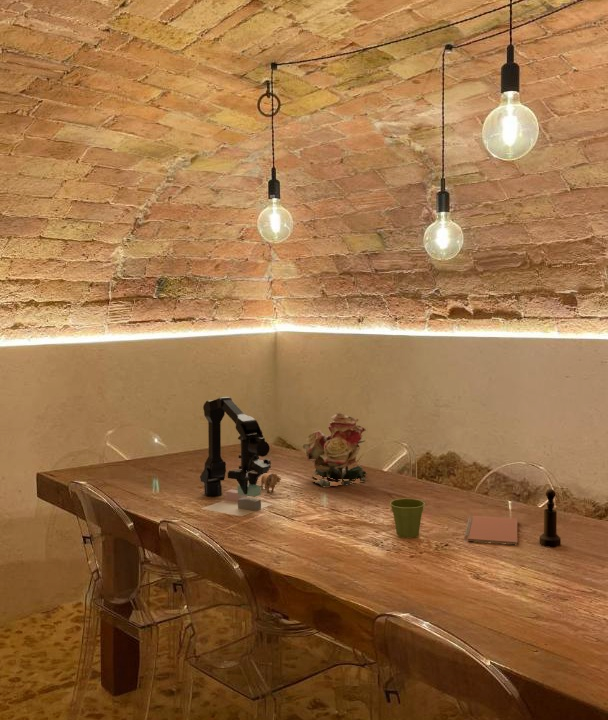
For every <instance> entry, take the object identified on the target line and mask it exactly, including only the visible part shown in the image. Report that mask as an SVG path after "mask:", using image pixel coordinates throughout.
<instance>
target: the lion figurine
mask: <svg viewBox="0 0 608 720" xmlns="http://www.w3.org/2000/svg"><path fill="white" fill-rule="evenodd" d="M281 480H282V478H281V477H279V476H278V474H277V473H276V472H273V473H271V474H269V475H267V474H264V475H263V474H262V475H261V479H260V481H261V482H260V483H261V485H260V486H261V491H263V490H266V494H270V489H271V493H274V491H275V487H276V486H277V485H278V484H279V483H280V482H281Z"/></svg>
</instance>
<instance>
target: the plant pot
mask: <svg viewBox="0 0 608 720" xmlns="http://www.w3.org/2000/svg"><path fill="white" fill-rule="evenodd" d="M389 505H390V506H391V510H392V514H393V519H394V524H395V530H396V535H397V536H398V538H403V539H410V538H411V539H415V538H417V537H418V536H419V534H420V529H421V521H422V515H423V511H424V507H425V505H426V503H425V501H424V500H421V499H418V498H417V499H416V498H406V497H405V498H397V499H393V500H390V502H389Z"/></svg>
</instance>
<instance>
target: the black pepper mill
mask: <svg viewBox="0 0 608 720" xmlns="http://www.w3.org/2000/svg"><path fill="white" fill-rule="evenodd" d="M545 496H546V498H547V502H546V506H547V508H544V509H543V533H541V534H540V536H539V545H540V544H541V546H542V545H544V546H543V547H546V546H550V547H549V548H557V547H556V546H558V547H560V546H561V536H559V535H558V534H557V531H558V530H557V516H558V515H557V514H558V513H557V509H554V507H555V503H554V498H555V497H556V491H555V490H554V489H551V488H549V489H546V491H545ZM559 545H560V546H559Z"/></svg>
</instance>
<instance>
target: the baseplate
mask: <svg viewBox="0 0 608 720" xmlns="http://www.w3.org/2000/svg"><path fill="white" fill-rule="evenodd" d="M272 505H273V503H270V502H263V501H262V500H261V499H257V498H254V497H249V496H247V497H243V498H240V499H238V502H234V501H229V500H221V501H219V502H216V503H212V504H210V505H206V506H204V507H202V508H200V509H201V510H204V511H209V512H210V511H211V512H215V513H221V514H227V515H231V516H236V517H244V516H246V515H248V514H251V513H254V512H256V511H259V510H262V509H264V508H266V507H269V506H272Z"/></svg>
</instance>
